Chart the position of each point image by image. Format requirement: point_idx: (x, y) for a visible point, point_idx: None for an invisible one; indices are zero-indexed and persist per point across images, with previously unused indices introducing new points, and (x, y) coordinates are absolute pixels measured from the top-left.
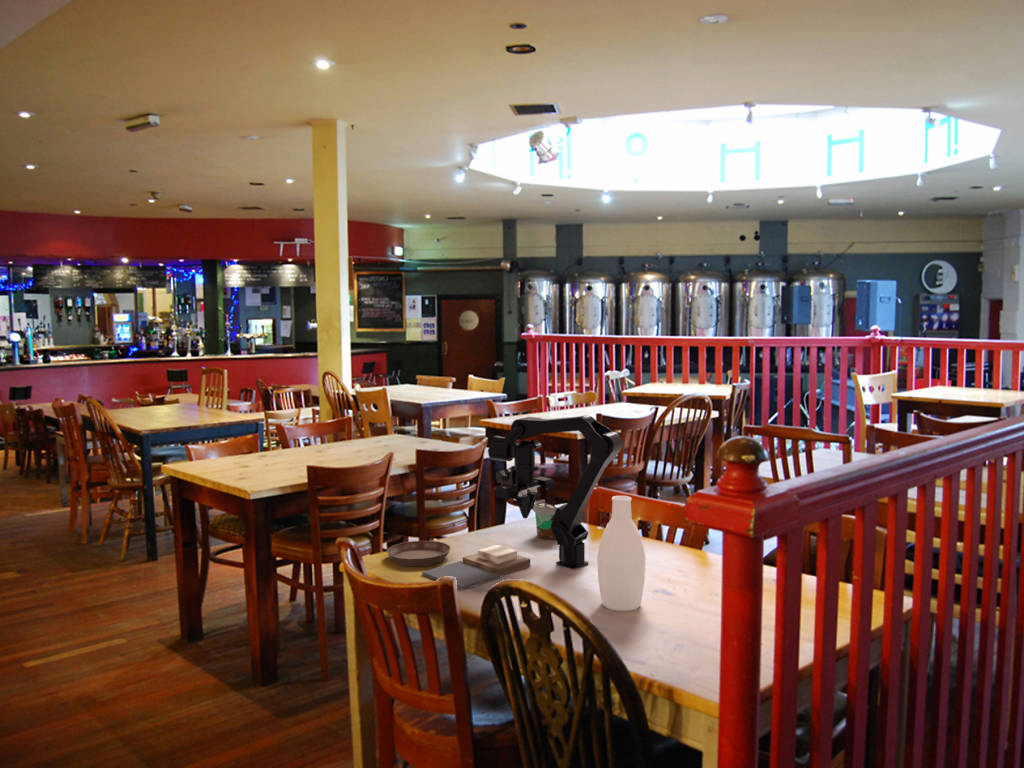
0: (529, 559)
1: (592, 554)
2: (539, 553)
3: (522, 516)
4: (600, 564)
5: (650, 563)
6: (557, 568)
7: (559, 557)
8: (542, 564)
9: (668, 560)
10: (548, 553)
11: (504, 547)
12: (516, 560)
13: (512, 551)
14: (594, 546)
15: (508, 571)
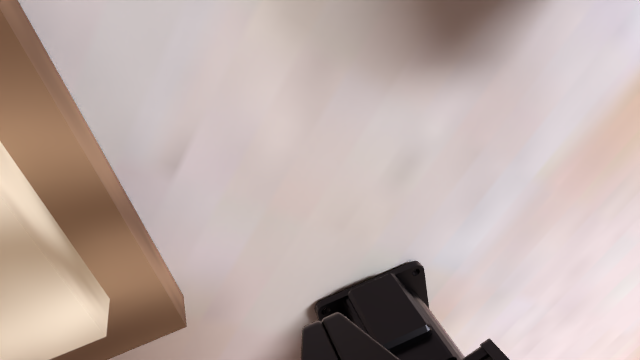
0: (179, 327)
1: (528, 223)
2: (348, 110)
3: (303, 340)
4: None
5: (571, 353)
6: (290, 344)
7: (352, 305)
8: (258, 284)
9: (623, 340)
10: (390, 132)
11: (23, 243)
12: None
13: (63, 341)
14: (623, 123)
15: None
